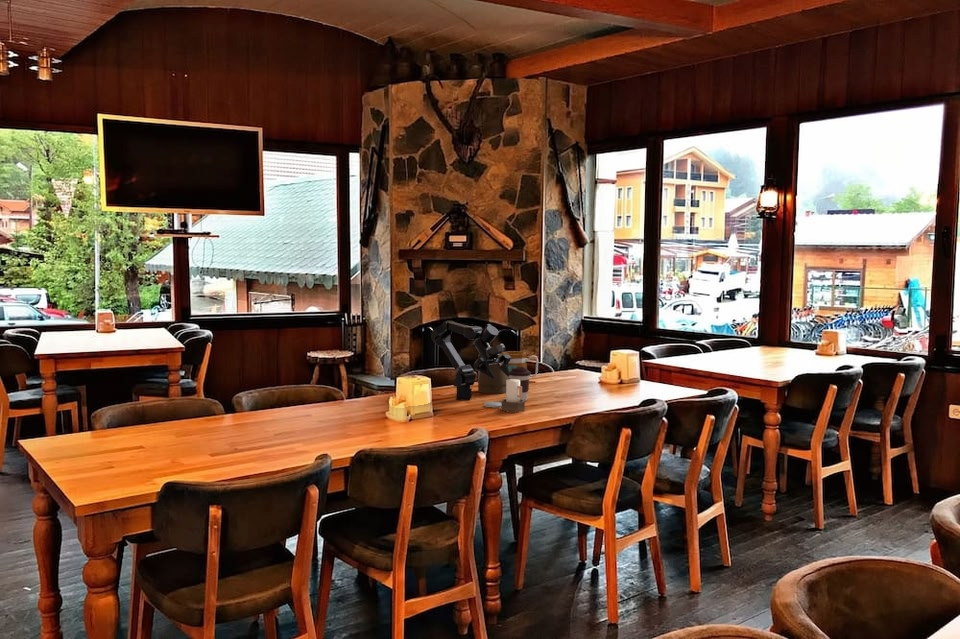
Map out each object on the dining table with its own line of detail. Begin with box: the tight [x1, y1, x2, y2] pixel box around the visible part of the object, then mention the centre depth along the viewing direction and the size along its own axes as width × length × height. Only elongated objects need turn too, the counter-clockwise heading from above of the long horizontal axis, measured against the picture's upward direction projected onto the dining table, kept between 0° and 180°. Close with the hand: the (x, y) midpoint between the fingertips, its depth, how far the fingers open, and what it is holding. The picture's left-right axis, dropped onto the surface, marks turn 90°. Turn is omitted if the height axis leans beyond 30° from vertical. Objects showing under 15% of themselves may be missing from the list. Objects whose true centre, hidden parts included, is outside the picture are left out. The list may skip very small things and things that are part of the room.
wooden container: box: [477, 353, 508, 395], centre depth 375 cm, size 15×15×22 cm
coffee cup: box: [509, 367, 531, 401], centre depth 352 cm, size 10×10×15 cm
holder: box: [500, 398, 526, 413], centre depth 331 cm, size 10×10×4 cm
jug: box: [505, 379, 522, 403], centre depth 330 cm, size 8×6×13 cm
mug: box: [501, 350, 539, 379], centre depth 406 cm, size 20×14×15 cm
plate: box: [483, 401, 501, 409], centre depth 339 cm, size 10×10×1 cm
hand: (501, 377), depth 335 cm, fingers open, 9 cm apart
